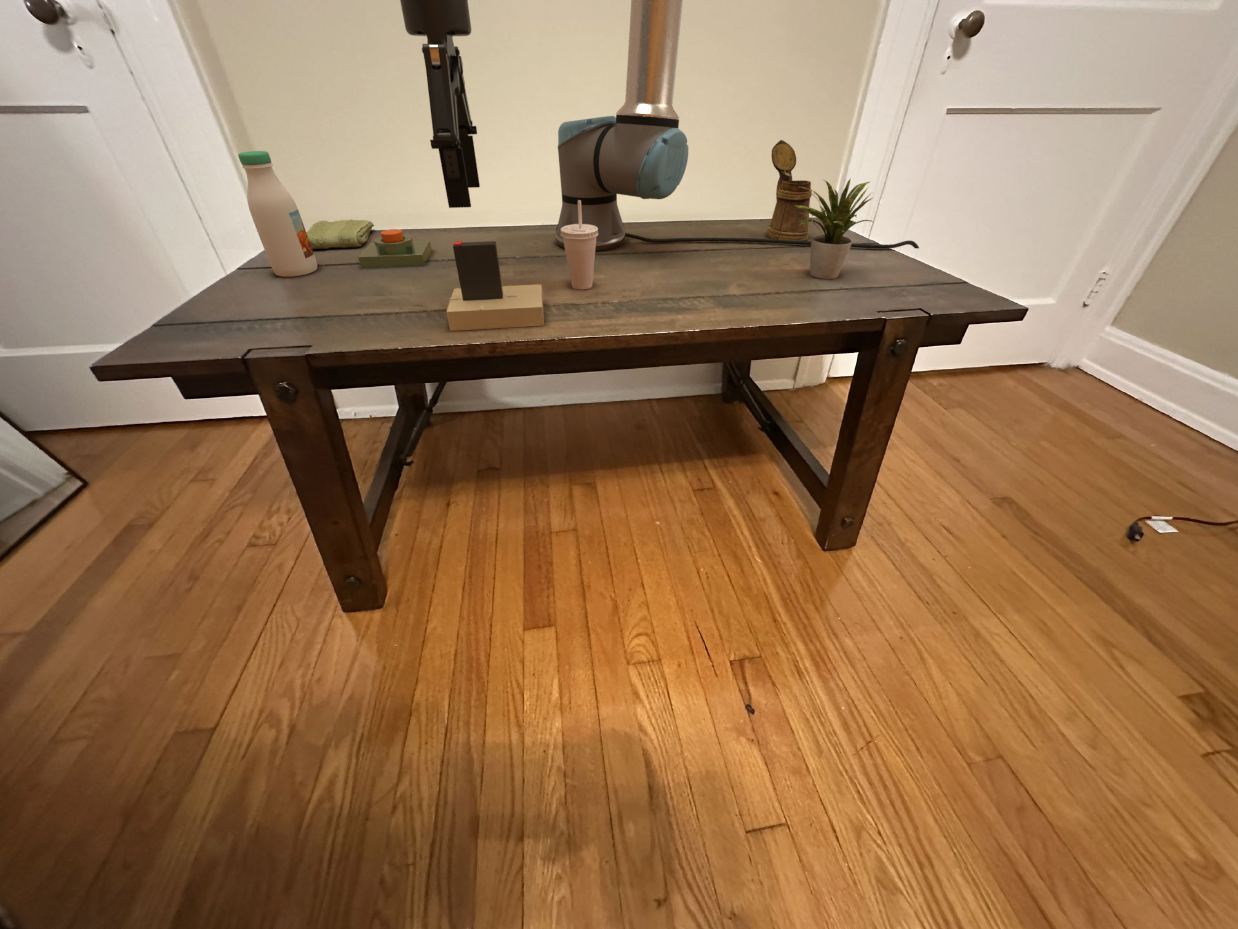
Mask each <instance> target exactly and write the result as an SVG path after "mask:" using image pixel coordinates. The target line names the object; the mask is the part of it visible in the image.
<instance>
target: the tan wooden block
mask: <svg viewBox="0 0 1238 929" xmlns="http://www.w3.org/2000/svg"><path fill="white" fill-rule="evenodd" d="M502 290H503V298H502V299H483V300H463V298H462V292H461V287H458V288H454V289H453V291H452V294H451V297H450V298H449V303H448V306H447V309H446V311H445V313H446V317H447V322H448V326H449V331H450V332H456V331H473V330H474V331H475V330H476V331H477V330H490V329H491V330H493V329H508V328H510V329H511V328H526V327H544V325H545V315H544V299H543V298H544V296H543V286H542V284H541V283H540V284H539V283H537V284H519V285H518V284H517V285H502Z"/></svg>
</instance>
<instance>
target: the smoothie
mask: <svg viewBox="0 0 1238 929" xmlns="http://www.w3.org/2000/svg"><path fill="white" fill-rule="evenodd" d="M578 220H579V224H572V225H567V226H564V227H562V228H561V236H562V237H563V241H564V247H565V248H564V253H565V257H566V263H567V269H568V273H569V274H568V275H569V279H570V284H571V288H572V289H575V290H588V289H591V288H592V287H593V280H594V270H595V269H594V268H595V259H596V258H595V257H596V251H595V247H596V236H598V228H597V227H596V226H593V225H589V224H582V212H581V201H580V200H579V201H578Z"/></svg>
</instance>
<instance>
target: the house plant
mask: <svg viewBox="0 0 1238 929" xmlns="http://www.w3.org/2000/svg"><path fill="white" fill-rule="evenodd" d="M823 182H825V184H826V186H827V192H828V201H829V205H828V202H826V200H825V199H824V198H823V197H822V196H821V195H820V194H819V193H818V192H816V191H815V190H813V189H812V188H811V189H812V190H811V189H808V188H805V189H808V190H811V191H812V195H811V196H814V198H817V201H818V204H819V208H820V210H818V209H816V208H813V207H811V206H809V207H806V206H800V205H794V206H796V207H798V208H801V209H804V210H805V211H807V212H808V213H809V216H808V215H807V216H808V217H809V219H805V220H802V221H803V222H802V221H800V222H801V224H804V223H807V222H809V223H810V222H812V223H813V225H814V226H816V228H817V229H818V230H819V232H820V233H821V234H816V235H814V236H811V239H810V241H811V245H810V259H809V260H810V262H809V275H810V276H812V277H814V278H817V279H823V280H832V279H833V280H834V279H837V278H838V277H839V275H840V273H841V271H842V268H843V266H844V263H845V261H846V258H847V256H848V254H849V252H850V249H851V248H852V247H851V245H852V243H854V242H853V241H854V240H853V239H852V238H850V237H848V236H844V235H845V234H846V233H847V232H848V231H849V230H850V229H851V228H852V227H853V226H855V225H857V224H859V223H862V222H871V223H873V224H874V223H875V222H874V221H873V220H870V219H862V220H858V221H854V220H852V219H853V218H857V215H858V214H856V213H857V212H858V211H859V210H861V209H862V208H863V207H864V206H865V205H866V204H867V203H868V202H870V201H871V200H872V199H874V197H873V196H872V197H871V198H869V197H870V196H871V194H872V192H870V193H869V194H868V195H867V196H866V197H865V198H864V199H863V197H864V195H865V194H866V193H867V191H868V189H869V188H870V186H868V187H866V186H867V185H868V184H869V183H870V181H866V182H862V183H859V184H856V185H855V186H853V188H852V189H851V190H850V191H849V189H850V185H851V178H849V180H848V181H847V182H846V184H845V186H844V189H843V191H842V192H841V194H840V198H839V193H838V191H837V190H836V189H835V188H833V186H832V184H831V183H830V182H828V181H827V180H825V179H823ZM798 187H799V186H798ZM865 187H866V189H865V190H864V188H865ZM802 188H804V187H802ZM863 190H864V191H863ZM862 191H863V192H862ZM861 192H862V193H861ZM860 193H861V194H860ZM809 194H811V193H809ZM815 195H816V196H815ZM858 196H859V197H858ZM857 197H858V198H857ZM868 198H869V199H868ZM861 199H863V200H861ZM855 200H856V201H855ZM860 201H861V203H859V202H860ZM858 203H859V205H858V206H857V204H858ZM856 206H857V207H856ZM855 207H856V208H855ZM802 214H804V213H802ZM805 215H806V214H805ZM810 215H811V217H810ZM813 217H815V218H817V219H819V220H820V222H819V221H817V220H815V219H812V218H813ZM801 224H800V225H801ZM816 224H817V225H818V226H819V227H820V228H819V227H818V226H817V225H816ZM798 227H799V226H798ZM820 229H821V230H820Z"/></svg>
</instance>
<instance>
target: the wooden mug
mask: <svg viewBox="0 0 1238 929" xmlns="http://www.w3.org/2000/svg"><path fill="white" fill-rule="evenodd" d="M771 162H772V165H773V168H774V169H775V170H776V171H777V172H778V175H779V177H778V180H777V184H776V190H775V191H776V192H775V195H776V196H775V198H776V200H775V202H776V203H775V206H774V210H773V213H772V217H771V221H770V223H769V225H768V226H767V229H766V235H767V237H768V239H779V240H798V241H808V239H809V238H810V230H809V223H810V222H807V223H804V224H801V222H800V221H802V220H805V219H810V218H809V217H810V213H808V212H807V211H805V210H804V209H801V208H798V207H796V206H794V205H800V206H806V207H811V206H810V205H811V204H810V203H811V198H812V196H813V195H812V194H813V191H811V190H813V189H812V181H810V180H803V179H802V180H793V175H792V174H793V173H792V171H793V170H794V169H795V167H796V166H797V155H796V153H795V150H794V148H793V147H792V146H791V144H789V143H788V142H786V141H785V140H783V139H780V140H779V141H777V143H775V145H774V146H773V147H772V149H771ZM798 186H799V187H798ZM802 187H804V188H802ZM805 188H808V189H811V190H808V189H805ZM809 193H811V194H809ZM802 213H804V214H802ZM805 214H806V215H805ZM807 215H808V216H809V217H808V216H807ZM802 222H803V221H802ZM800 224H801V225H800ZM798 226H799V227H798Z"/></svg>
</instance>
